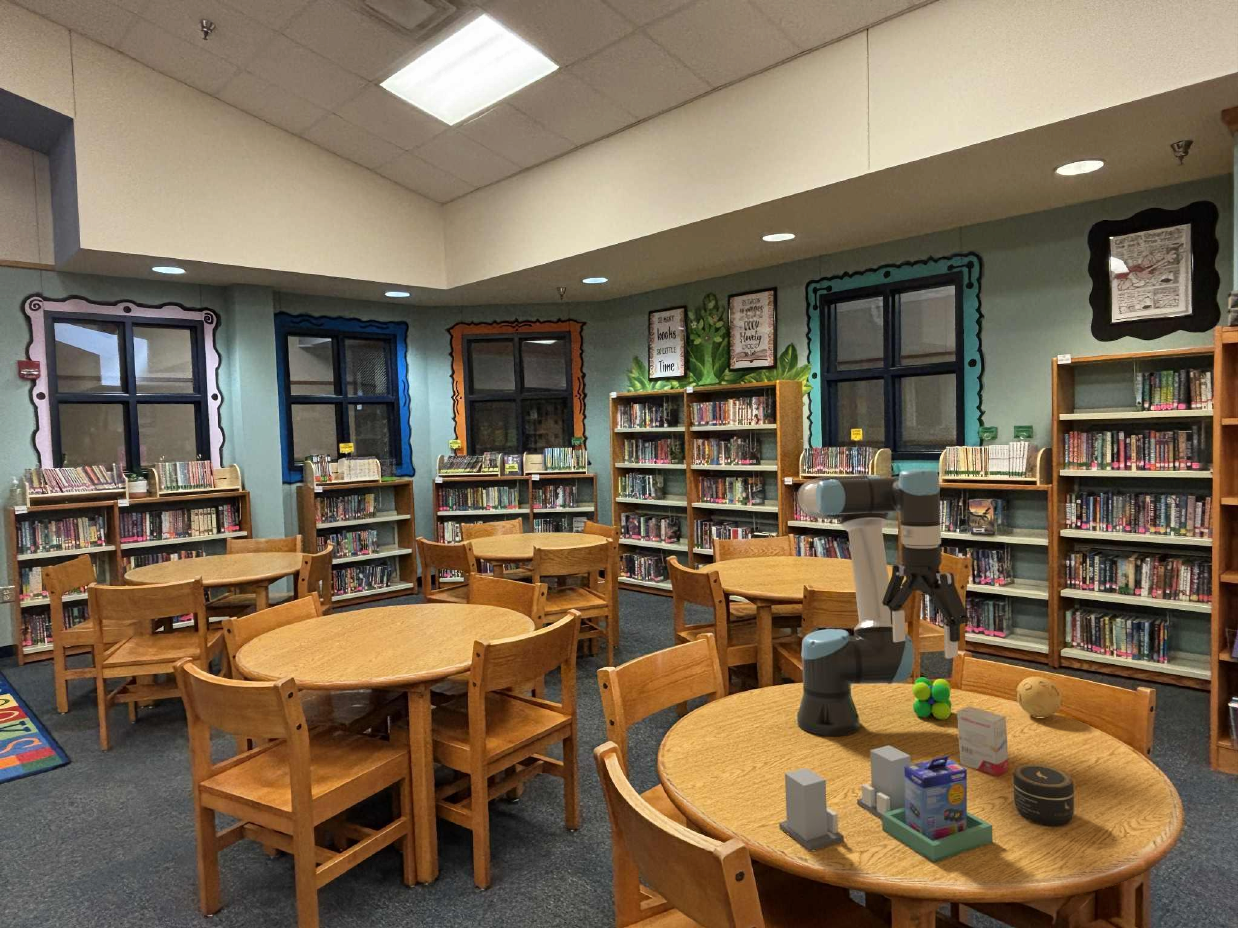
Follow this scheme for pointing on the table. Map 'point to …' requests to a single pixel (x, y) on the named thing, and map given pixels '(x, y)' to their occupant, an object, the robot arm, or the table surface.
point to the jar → (1043, 795)
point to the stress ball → (1038, 696)
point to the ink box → (983, 740)
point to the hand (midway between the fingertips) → (924, 648)
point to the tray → (941, 848)
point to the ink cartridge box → (936, 798)
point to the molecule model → (932, 698)
